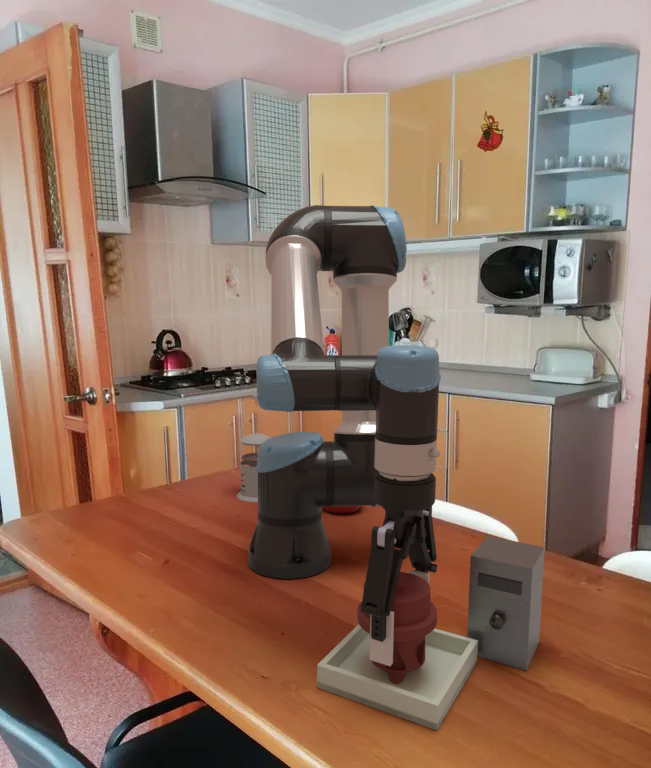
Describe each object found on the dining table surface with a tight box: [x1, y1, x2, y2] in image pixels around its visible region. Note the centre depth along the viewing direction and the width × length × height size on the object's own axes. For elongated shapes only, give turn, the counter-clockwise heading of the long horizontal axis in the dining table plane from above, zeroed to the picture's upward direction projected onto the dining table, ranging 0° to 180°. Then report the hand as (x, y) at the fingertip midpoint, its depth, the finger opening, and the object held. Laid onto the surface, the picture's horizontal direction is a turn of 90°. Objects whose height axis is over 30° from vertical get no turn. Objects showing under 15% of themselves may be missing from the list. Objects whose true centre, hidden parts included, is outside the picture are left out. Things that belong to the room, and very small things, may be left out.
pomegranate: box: [324, 506, 362, 514], centre depth 143 cm, size 10×10×9 cm
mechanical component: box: [357, 571, 438, 684], centre depth 80 cm, size 12×10×10 cm
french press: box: [236, 393, 271, 503], centre depth 152 cm, size 10×12×25 cm
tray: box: [316, 623, 478, 731], centre depth 81 cm, size 16×16×3 cm
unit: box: [467, 535, 546, 672], centre depth 86 cm, size 8×9×14 cm
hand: (400, 638), depth 81 cm, fingers open, 11 cm apart
